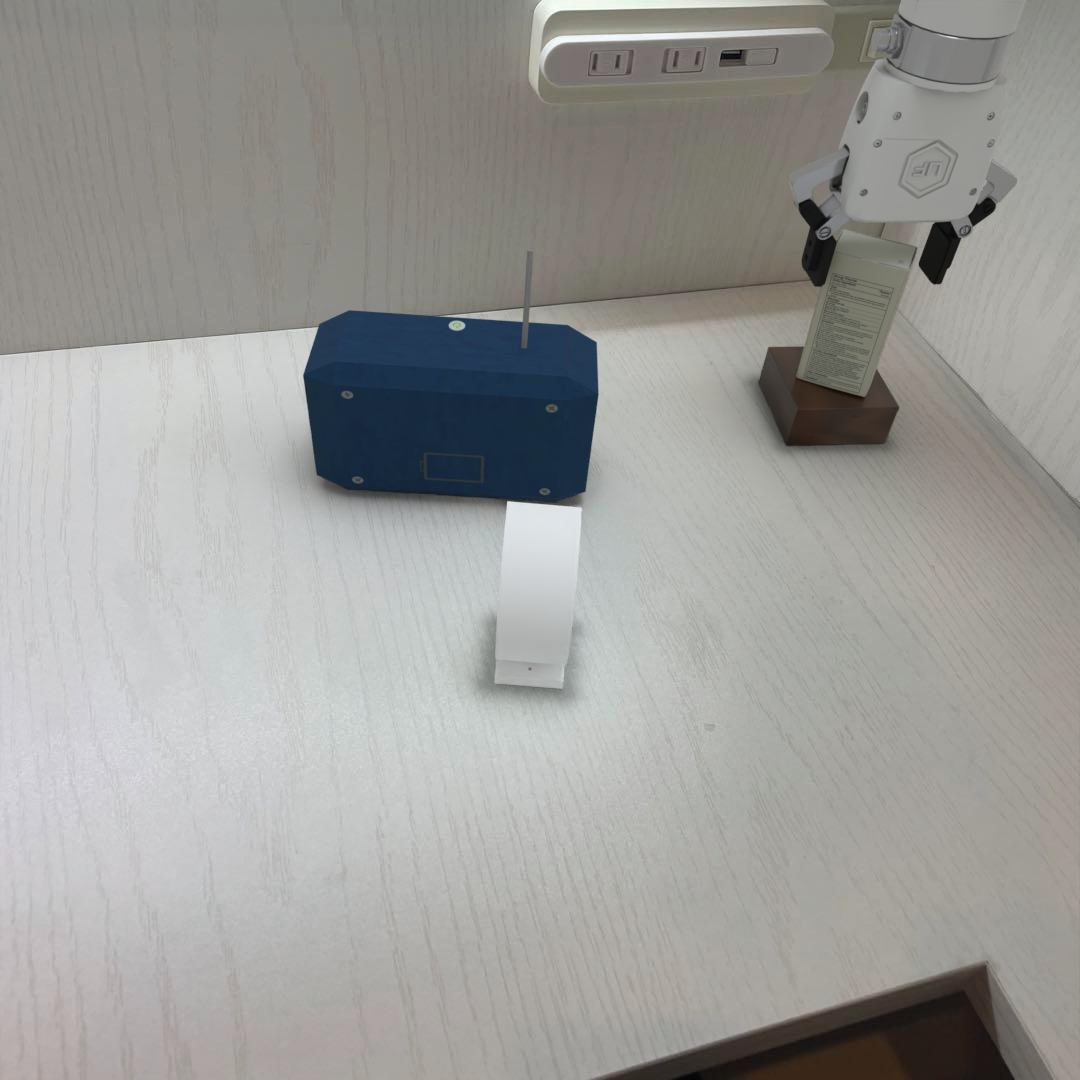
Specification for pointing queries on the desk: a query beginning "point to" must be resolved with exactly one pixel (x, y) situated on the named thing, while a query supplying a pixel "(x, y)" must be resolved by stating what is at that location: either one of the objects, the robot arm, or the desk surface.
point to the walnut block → (823, 405)
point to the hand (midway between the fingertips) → (871, 276)
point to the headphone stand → (537, 594)
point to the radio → (453, 405)
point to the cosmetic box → (855, 311)
